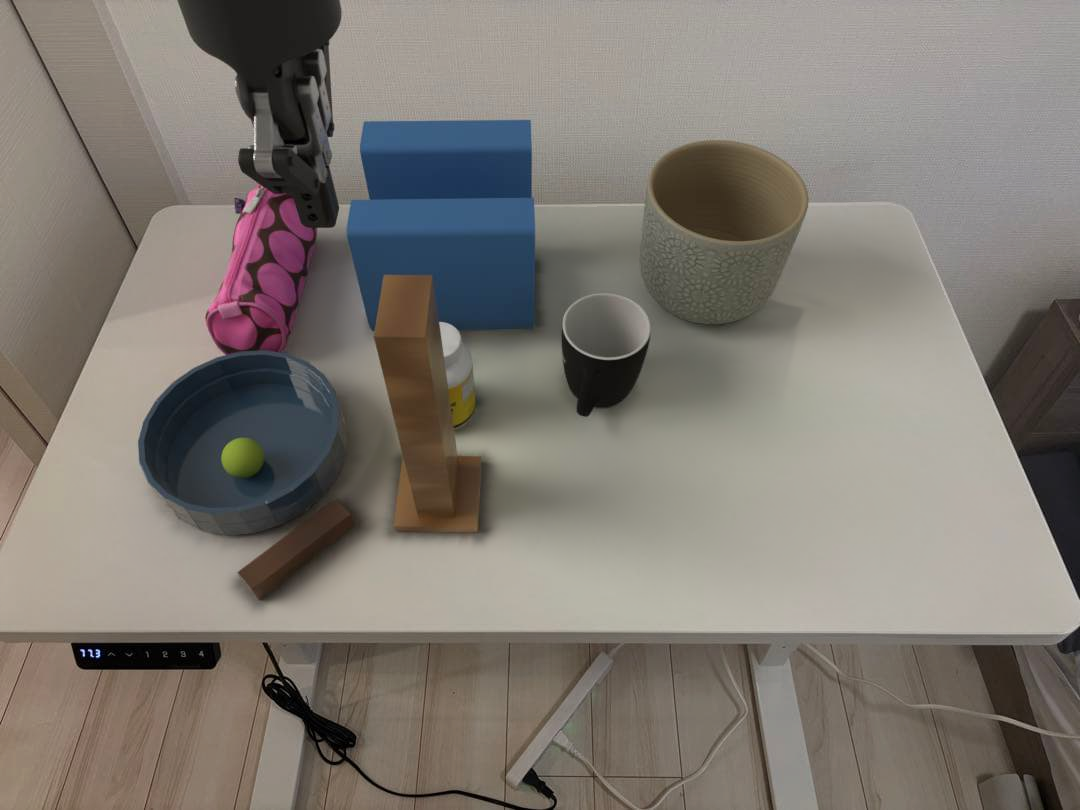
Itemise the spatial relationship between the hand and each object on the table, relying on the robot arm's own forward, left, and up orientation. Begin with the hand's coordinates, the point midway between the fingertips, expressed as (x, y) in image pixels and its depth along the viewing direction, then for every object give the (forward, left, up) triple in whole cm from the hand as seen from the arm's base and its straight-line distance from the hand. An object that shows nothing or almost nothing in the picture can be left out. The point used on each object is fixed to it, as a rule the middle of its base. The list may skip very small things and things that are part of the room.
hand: (321, 220), depth 50 cm
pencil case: (+9, +31, -36) cm, 48 cm away
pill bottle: (+11, +4, -36) cm, 38 cm away
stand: (+3, -3, -36) cm, 36 cm away
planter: (+44, -7, -36) cm, 57 cm away
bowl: (-6, +15, -36) cm, 39 cm away
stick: (-10, +2, -33) cm, 35 cm away
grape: (-8, +13, -33) cm, 37 cm away
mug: (+23, -7, -36) cm, 43 cm away
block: (+24, +15, -36) cm, 45 cm away
